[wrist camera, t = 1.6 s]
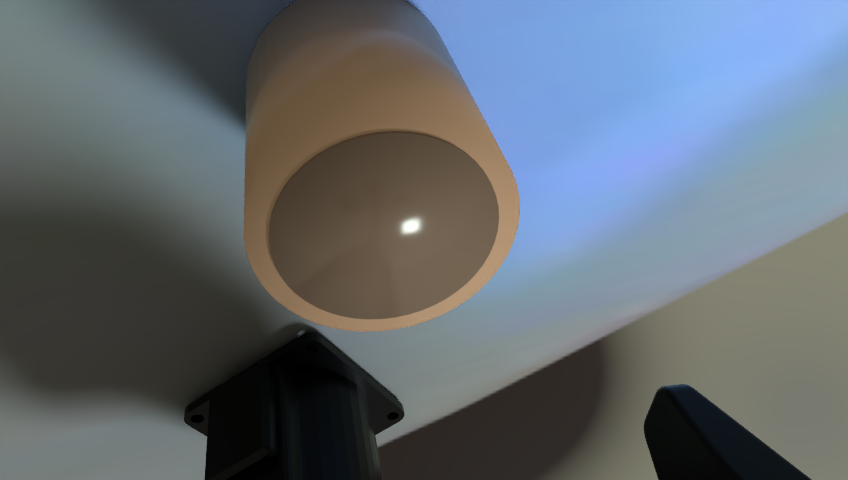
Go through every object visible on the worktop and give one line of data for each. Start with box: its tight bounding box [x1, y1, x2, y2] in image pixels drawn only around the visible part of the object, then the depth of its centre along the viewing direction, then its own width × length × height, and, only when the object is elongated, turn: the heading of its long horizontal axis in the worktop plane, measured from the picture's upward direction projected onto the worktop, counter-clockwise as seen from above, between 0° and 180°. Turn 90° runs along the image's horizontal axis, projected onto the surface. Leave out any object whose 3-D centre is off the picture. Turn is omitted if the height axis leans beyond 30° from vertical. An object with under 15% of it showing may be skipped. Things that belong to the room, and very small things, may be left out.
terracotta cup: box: [244, 0, 520, 332], centre depth 18 cm, size 6×6×7 cm
